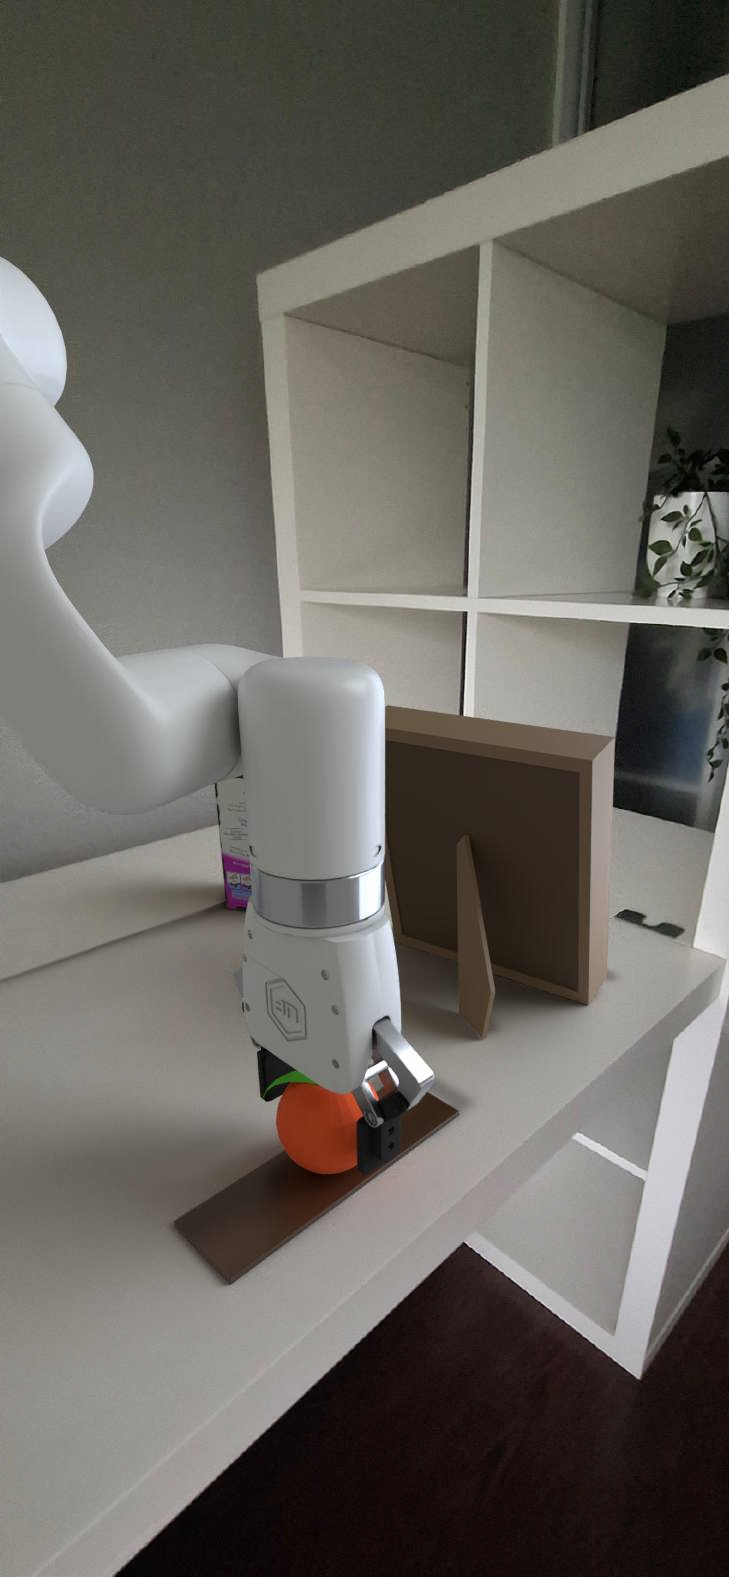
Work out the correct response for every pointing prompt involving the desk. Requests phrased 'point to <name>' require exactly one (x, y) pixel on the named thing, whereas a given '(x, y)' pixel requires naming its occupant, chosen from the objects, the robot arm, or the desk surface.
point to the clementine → (317, 1125)
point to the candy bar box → (234, 842)
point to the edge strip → (288, 1198)
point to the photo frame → (500, 851)
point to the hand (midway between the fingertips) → (327, 1124)
